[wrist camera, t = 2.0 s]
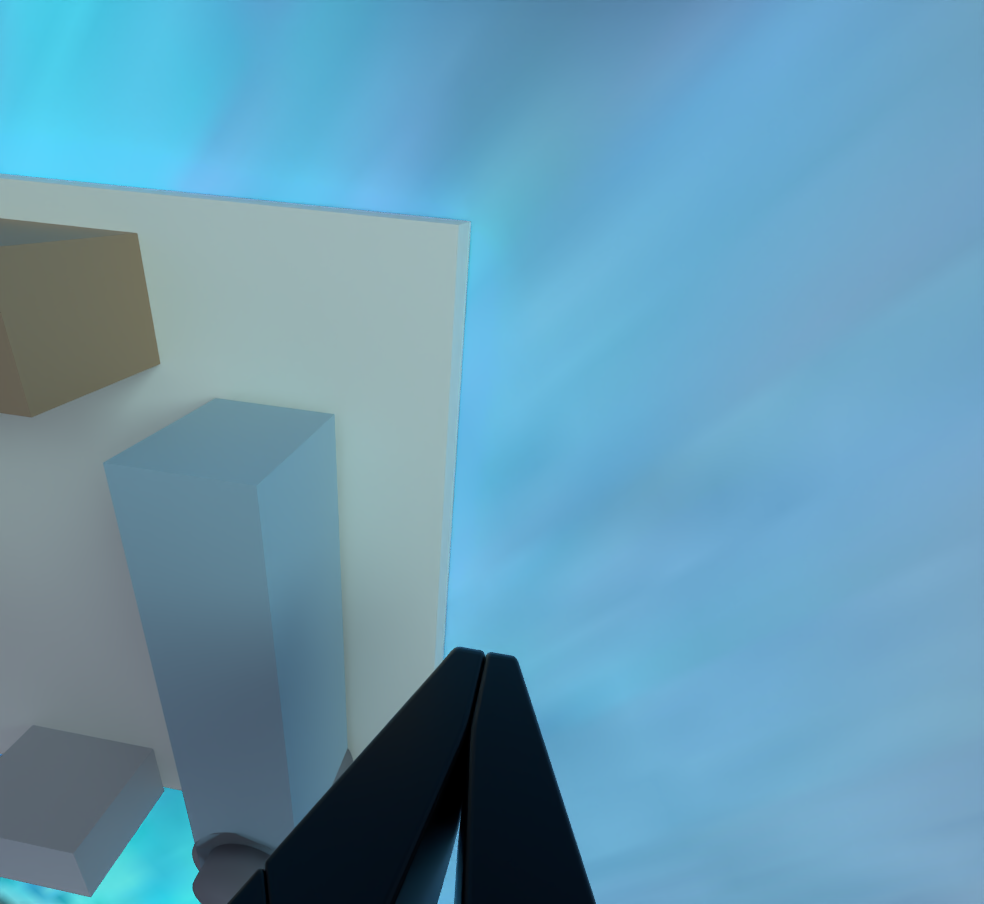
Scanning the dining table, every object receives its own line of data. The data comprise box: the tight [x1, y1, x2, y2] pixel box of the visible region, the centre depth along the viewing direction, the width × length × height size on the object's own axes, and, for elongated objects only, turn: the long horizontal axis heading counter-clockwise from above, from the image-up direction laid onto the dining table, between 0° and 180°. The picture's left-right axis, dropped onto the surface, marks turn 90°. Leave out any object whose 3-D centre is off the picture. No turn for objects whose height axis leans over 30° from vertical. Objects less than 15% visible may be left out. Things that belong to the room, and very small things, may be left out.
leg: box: [103, 398, 353, 904], centre depth 12 cm, size 12×3×4 cm, turn 175°
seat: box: [0, 174, 471, 897], centre depth 13 cm, size 18×17×4 cm
